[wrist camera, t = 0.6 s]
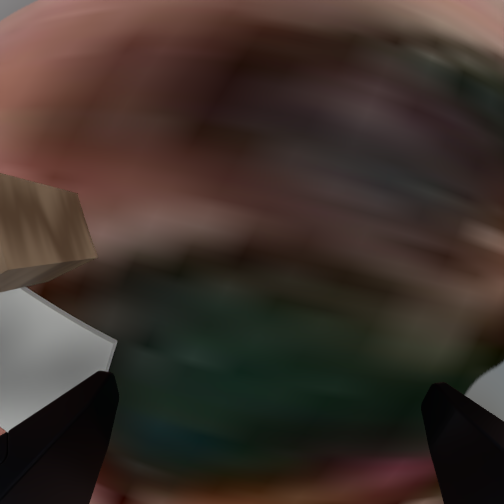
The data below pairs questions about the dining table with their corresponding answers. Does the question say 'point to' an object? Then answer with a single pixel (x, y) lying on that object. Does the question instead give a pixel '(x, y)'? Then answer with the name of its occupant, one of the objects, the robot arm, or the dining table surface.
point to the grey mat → (43, 354)
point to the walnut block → (39, 233)
